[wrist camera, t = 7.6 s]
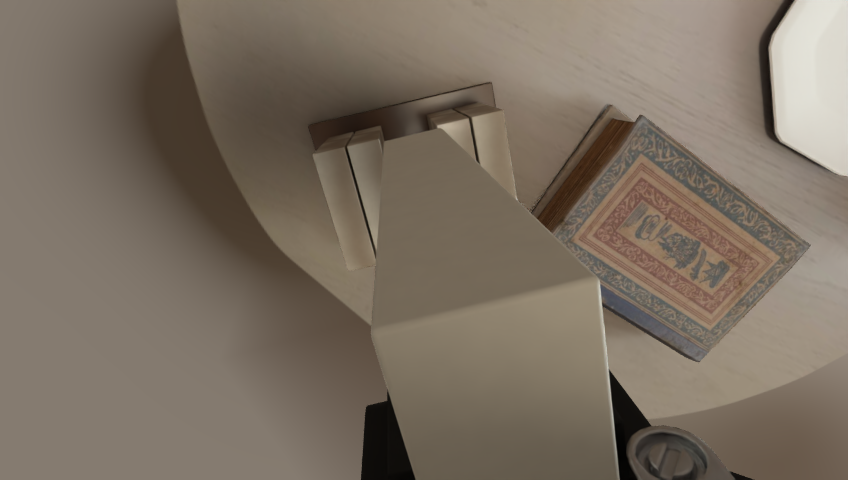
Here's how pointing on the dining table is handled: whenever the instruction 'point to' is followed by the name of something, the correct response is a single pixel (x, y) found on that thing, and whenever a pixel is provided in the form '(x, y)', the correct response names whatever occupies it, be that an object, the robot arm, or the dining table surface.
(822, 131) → the plate
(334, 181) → the white books
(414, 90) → the dining table surface
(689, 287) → the book
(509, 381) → the white book
